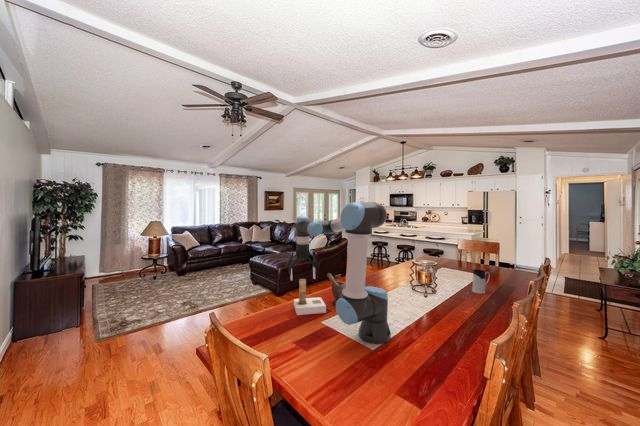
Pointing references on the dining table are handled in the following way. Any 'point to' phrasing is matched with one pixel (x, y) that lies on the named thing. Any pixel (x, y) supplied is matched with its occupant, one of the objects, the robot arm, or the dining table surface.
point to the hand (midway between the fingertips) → (302, 279)
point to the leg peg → (302, 292)
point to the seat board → (310, 306)
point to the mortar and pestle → (336, 288)
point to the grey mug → (479, 281)
